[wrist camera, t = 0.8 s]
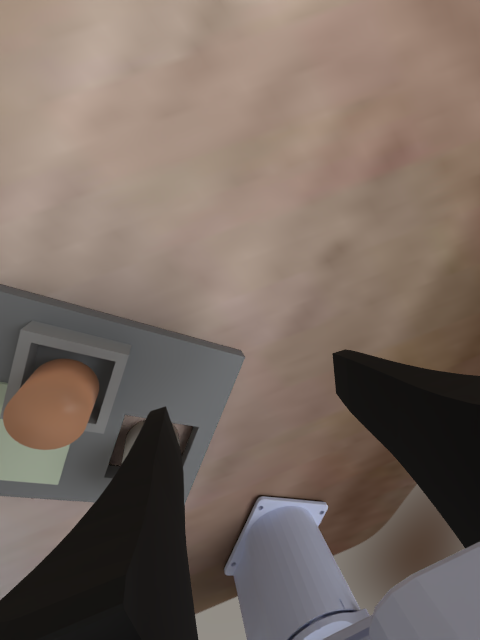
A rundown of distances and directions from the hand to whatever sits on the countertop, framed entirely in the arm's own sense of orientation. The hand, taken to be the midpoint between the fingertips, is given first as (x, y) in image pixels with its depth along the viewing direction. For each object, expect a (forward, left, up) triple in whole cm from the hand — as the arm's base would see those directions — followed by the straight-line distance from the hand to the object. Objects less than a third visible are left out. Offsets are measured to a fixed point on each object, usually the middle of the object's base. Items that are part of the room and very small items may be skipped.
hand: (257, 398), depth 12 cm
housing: (-8, +6, -10) cm, 14 cm away
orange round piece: (-5, +8, -7) cm, 12 cm away
